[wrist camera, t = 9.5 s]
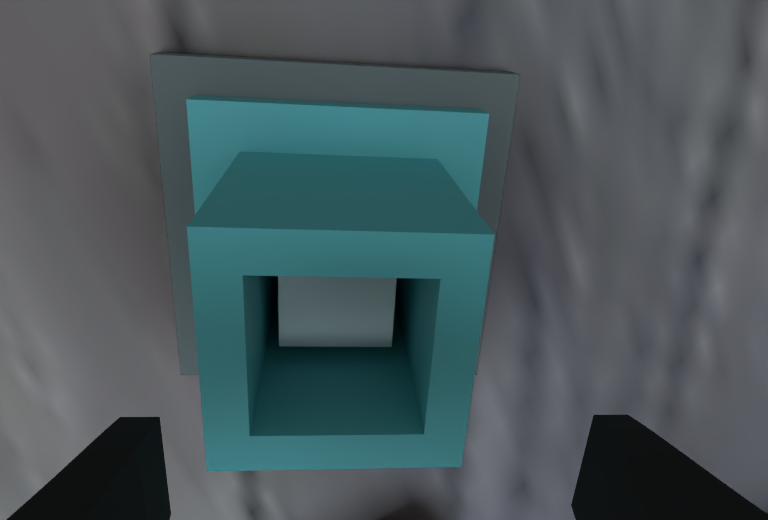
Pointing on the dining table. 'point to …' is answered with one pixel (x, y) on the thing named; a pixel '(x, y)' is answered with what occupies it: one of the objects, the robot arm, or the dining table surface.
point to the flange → (336, 259)
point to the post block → (323, 84)
